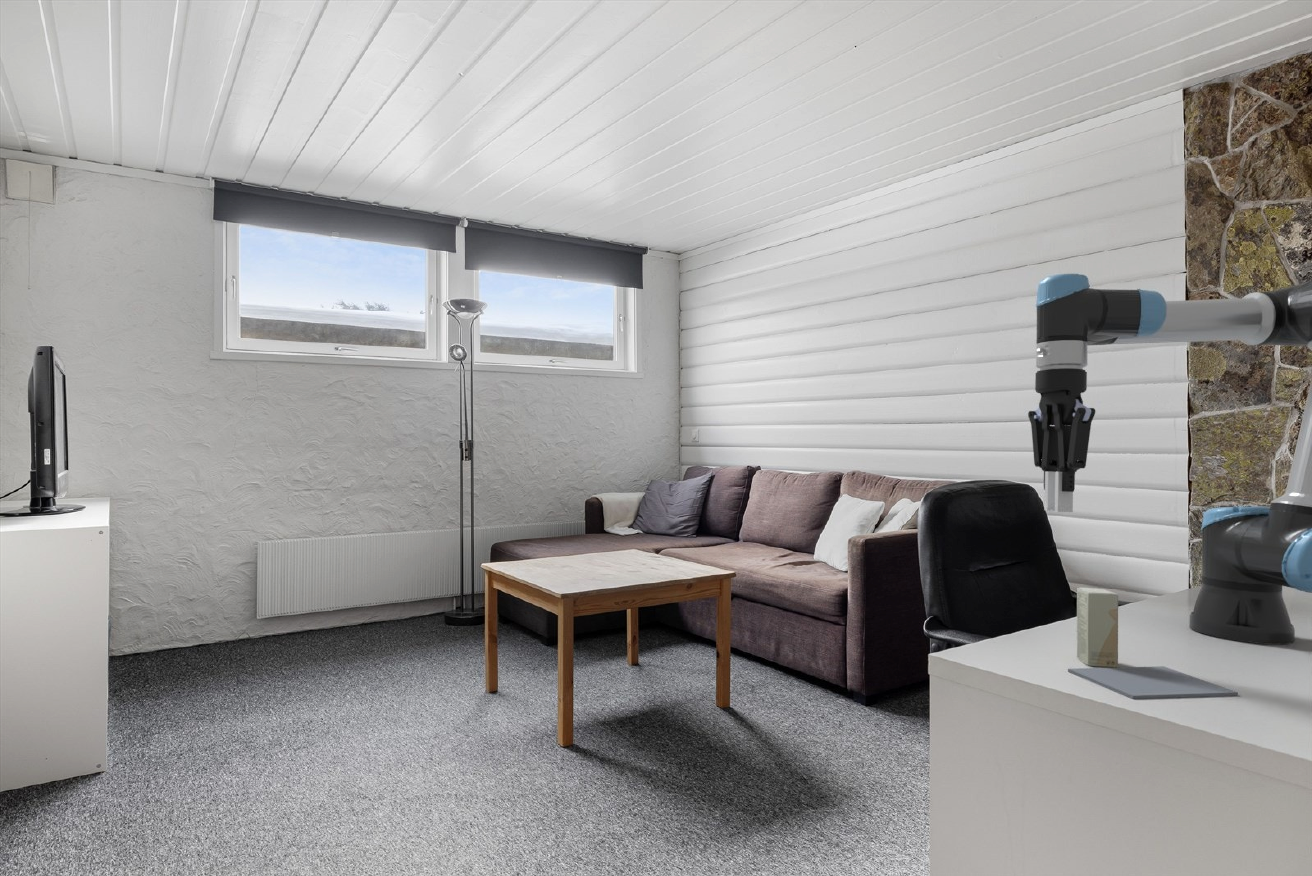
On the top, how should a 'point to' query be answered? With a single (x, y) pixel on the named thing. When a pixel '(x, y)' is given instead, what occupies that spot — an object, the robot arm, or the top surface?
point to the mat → (1151, 682)
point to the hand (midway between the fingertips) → (1058, 510)
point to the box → (1097, 627)
